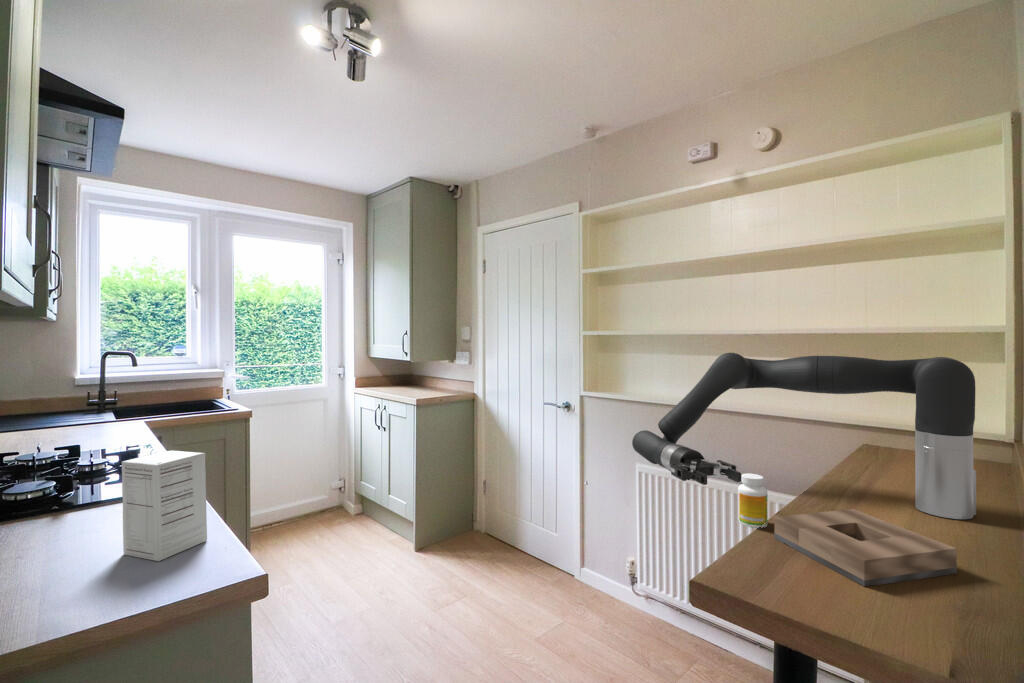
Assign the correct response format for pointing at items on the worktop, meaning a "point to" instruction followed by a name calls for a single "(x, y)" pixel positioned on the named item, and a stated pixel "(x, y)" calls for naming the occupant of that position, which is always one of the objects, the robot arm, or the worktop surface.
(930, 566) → the socket block
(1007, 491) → the worktop surface
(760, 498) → the supplement bottle
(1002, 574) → the worktop surface
